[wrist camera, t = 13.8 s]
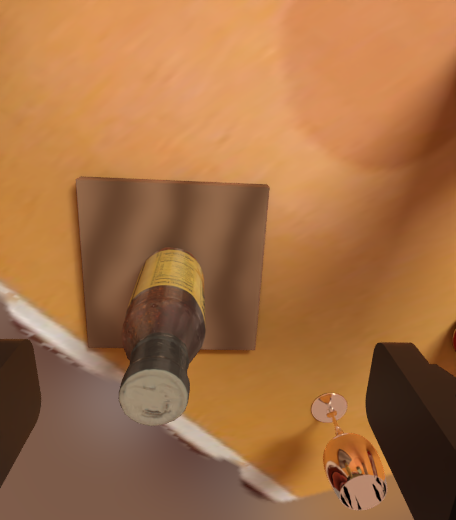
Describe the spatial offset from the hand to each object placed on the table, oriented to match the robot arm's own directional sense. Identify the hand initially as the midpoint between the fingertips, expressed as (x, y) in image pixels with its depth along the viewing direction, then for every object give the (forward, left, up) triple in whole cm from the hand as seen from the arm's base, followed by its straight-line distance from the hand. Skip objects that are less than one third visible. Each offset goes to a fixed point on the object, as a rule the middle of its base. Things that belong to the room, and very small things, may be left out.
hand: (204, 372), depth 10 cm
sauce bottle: (+3, +11, -32) cm, 33 cm away
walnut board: (+3, +11, -33) cm, 35 cm away
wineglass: (-16, +29, -33) cm, 47 cm away
